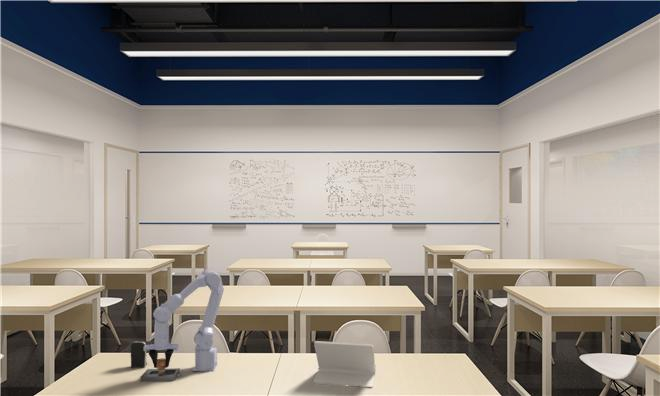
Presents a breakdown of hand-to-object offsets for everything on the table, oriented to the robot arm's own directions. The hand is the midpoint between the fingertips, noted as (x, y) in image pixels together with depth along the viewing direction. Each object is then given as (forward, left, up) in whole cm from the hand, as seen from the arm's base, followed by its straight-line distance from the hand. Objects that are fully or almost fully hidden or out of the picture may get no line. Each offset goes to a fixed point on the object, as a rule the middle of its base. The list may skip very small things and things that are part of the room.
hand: (161, 366), depth 179 cm
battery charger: (+14, -13, -5) cm, 20 cm away
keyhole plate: (0, 0, -4) cm, 4 cm away
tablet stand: (-79, +4, -5) cm, 80 cm away
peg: (0, 0, -4) cm, 4 cm away
